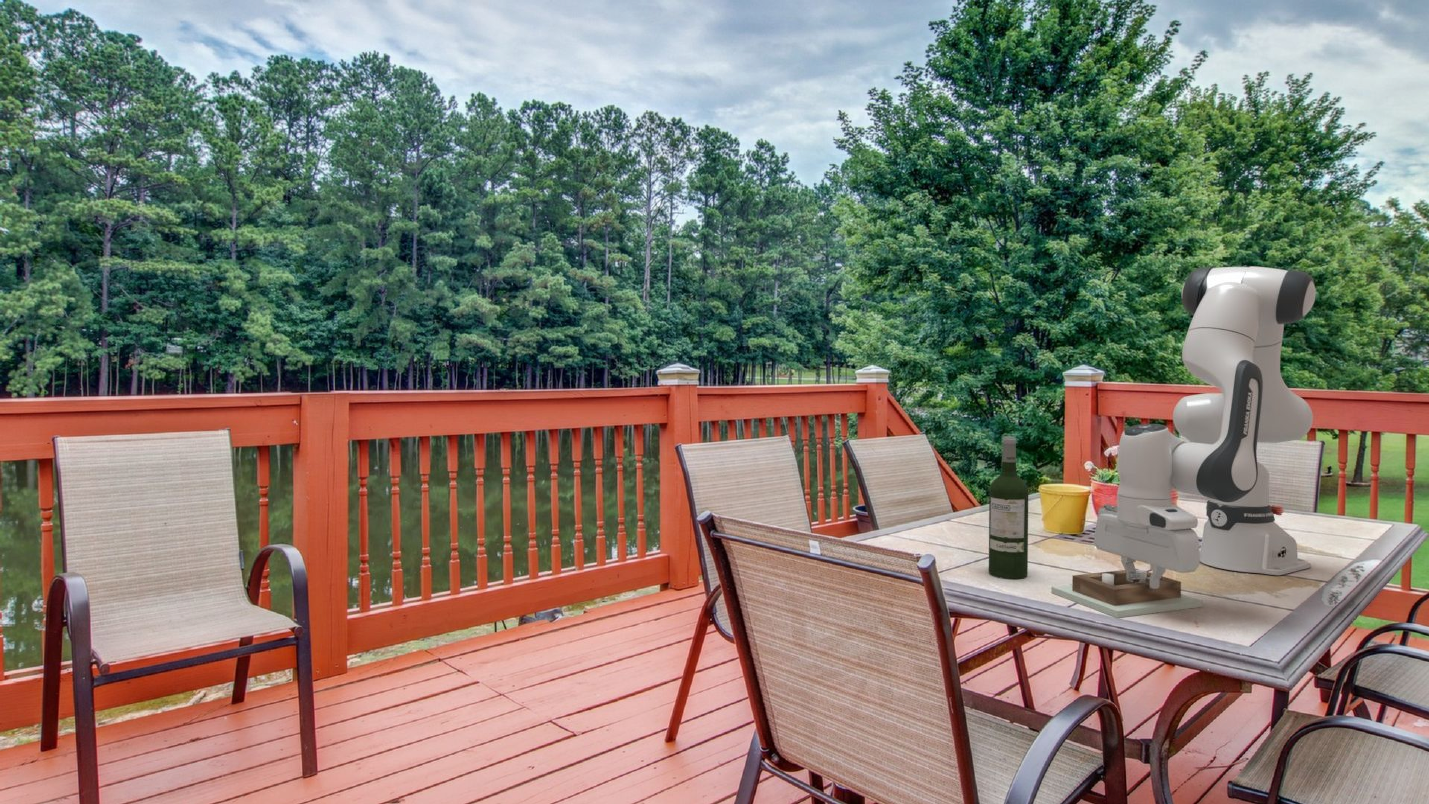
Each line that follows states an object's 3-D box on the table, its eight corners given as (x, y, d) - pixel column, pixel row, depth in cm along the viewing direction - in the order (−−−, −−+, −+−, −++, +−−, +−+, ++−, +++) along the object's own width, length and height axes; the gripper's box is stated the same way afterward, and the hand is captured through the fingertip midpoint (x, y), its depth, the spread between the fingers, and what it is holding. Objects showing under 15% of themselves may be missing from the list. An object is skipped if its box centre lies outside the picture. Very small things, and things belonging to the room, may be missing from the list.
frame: (1136, 583, 149) (1136, 568, 149) (1180, 597, 140) (1181, 581, 140) (1072, 590, 145) (1072, 575, 144) (1114, 606, 135) (1114, 589, 135)
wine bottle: (990, 578, 158) (991, 438, 157) (987, 568, 166) (988, 435, 165) (1030, 580, 156) (1031, 438, 155) (1025, 570, 164) (1026, 435, 163)
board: (1130, 583, 153) (1130, 558, 153) (1201, 606, 138) (1202, 579, 138) (1051, 592, 147) (1051, 566, 147) (1117, 617, 132) (1117, 589, 132)
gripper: (1086, 503, 147) (1085, 572, 148) (1179, 522, 128) (1177, 601, 128) (1111, 501, 149) (1110, 569, 150) (1206, 520, 130) (1205, 598, 130)
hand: (1142, 584), depth 139 cm, fingers open, 3 cm apart
